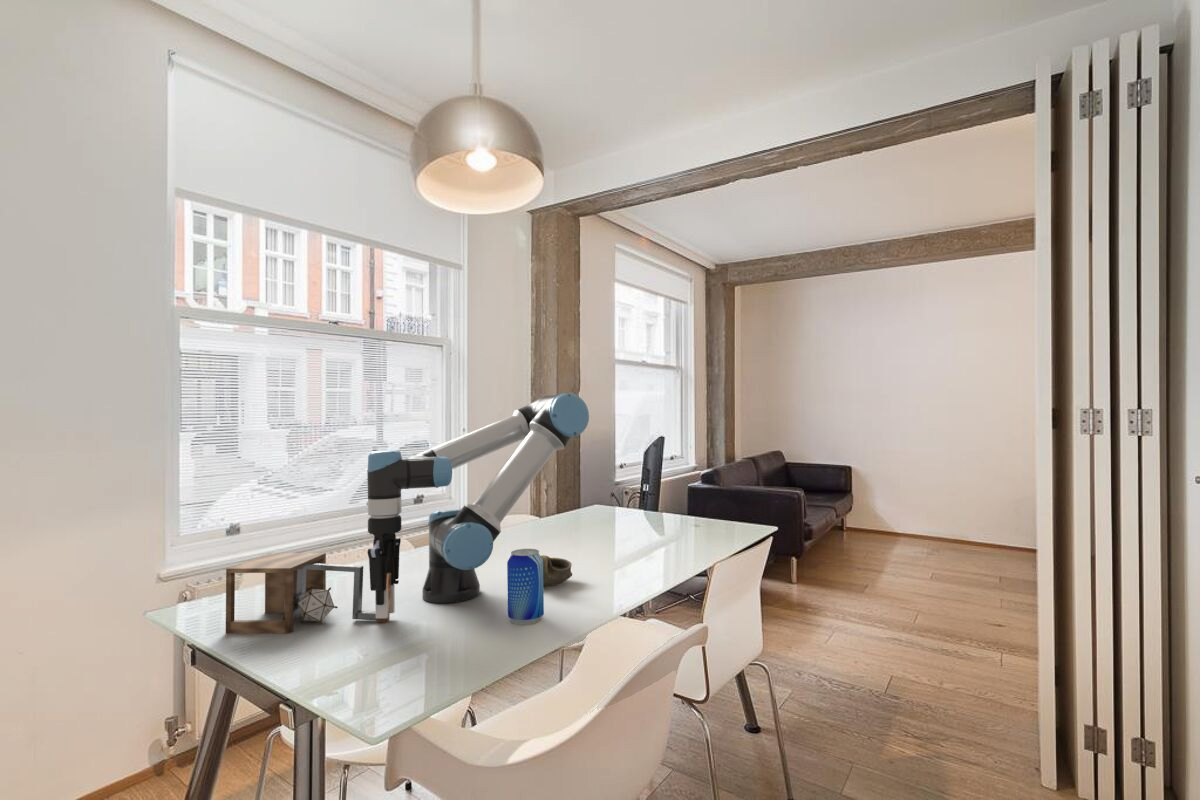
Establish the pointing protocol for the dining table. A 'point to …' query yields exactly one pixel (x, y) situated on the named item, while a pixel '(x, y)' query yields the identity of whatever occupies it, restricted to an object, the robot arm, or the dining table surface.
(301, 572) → the pull yoke
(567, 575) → the brown rounded hollow piece
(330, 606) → the game die
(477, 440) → the robot arm
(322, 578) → the shelf lane
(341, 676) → the dining table surface
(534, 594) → the beer can
